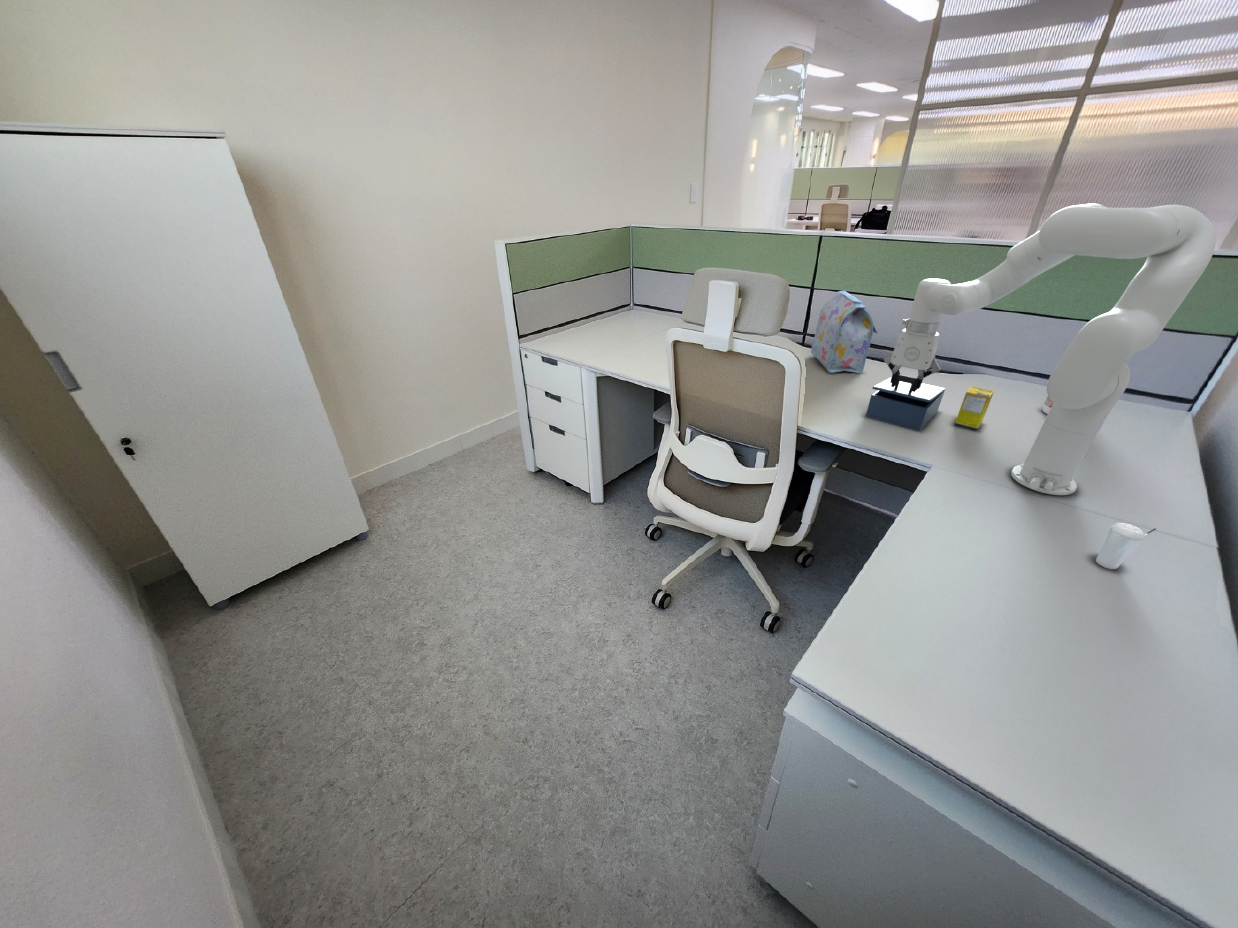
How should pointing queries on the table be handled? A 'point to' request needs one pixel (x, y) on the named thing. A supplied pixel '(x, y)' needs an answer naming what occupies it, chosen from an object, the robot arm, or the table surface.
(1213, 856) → the table surface
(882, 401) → the box
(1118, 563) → the milkshake
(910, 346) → the robot arm
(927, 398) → the lunchbox lid
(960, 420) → the supplement box
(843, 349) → the lunch bag
